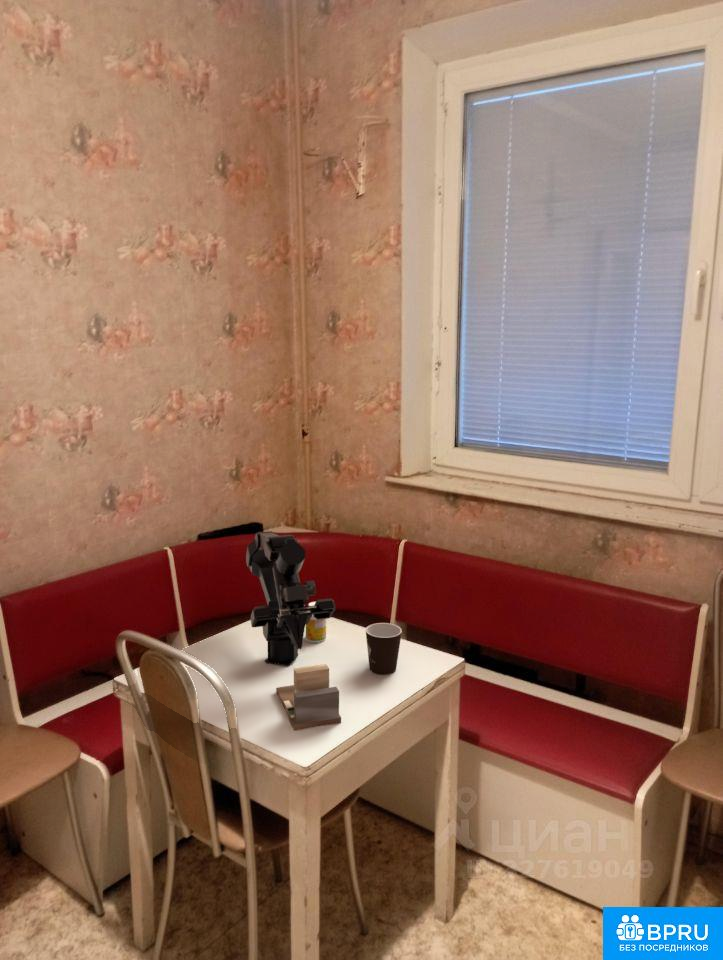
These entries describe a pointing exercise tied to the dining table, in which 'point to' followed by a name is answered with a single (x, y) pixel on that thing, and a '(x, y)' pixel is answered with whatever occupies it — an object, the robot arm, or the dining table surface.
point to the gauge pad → (310, 678)
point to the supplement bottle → (315, 629)
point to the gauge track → (310, 706)
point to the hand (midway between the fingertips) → (299, 648)
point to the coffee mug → (383, 647)
